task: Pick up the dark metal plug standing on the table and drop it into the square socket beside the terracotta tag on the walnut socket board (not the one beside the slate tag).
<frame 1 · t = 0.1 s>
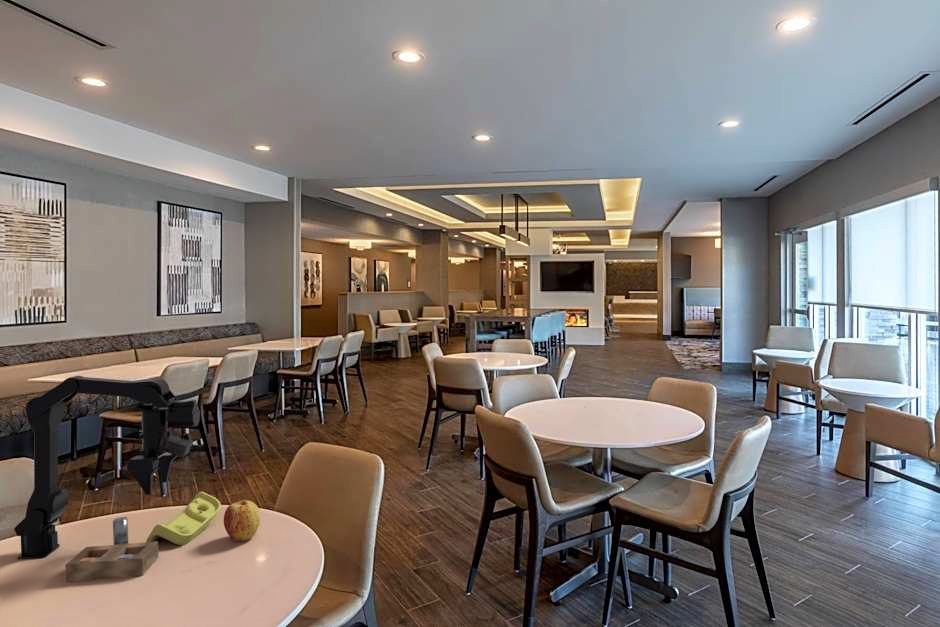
hand: (156, 488, 144), 14 cm above the table, fingers open, 9 cm apart
board: (114, 569, 131), on the table
apple: (243, 539, 147), on the table
plastic component: (188, 532, 152), on the table
plug: (121, 546, 143), on the table
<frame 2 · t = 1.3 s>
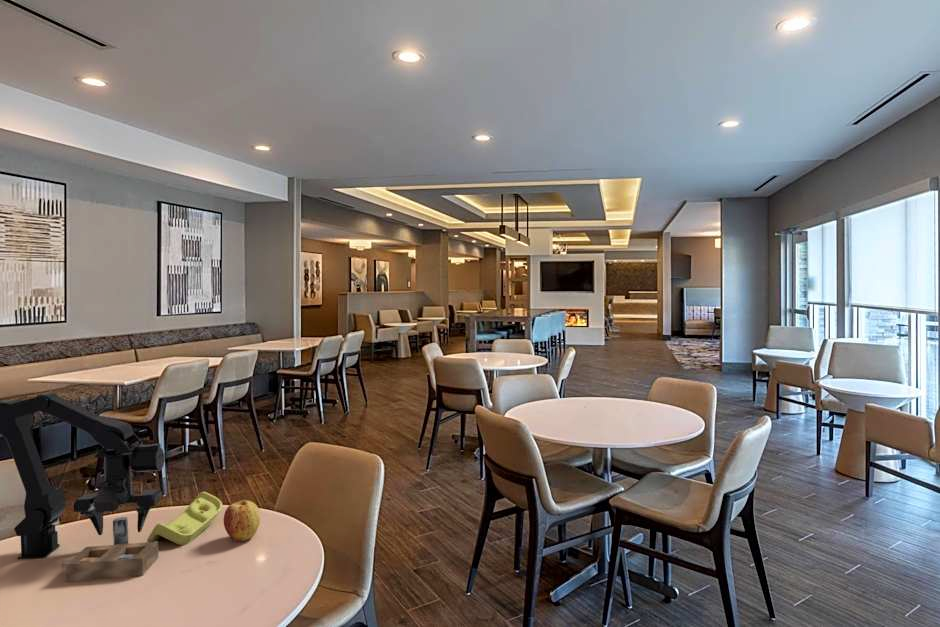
hand: (120, 533, 143), 3 cm above the table, fingers open, 9 cm apart
nothing on the table moved.
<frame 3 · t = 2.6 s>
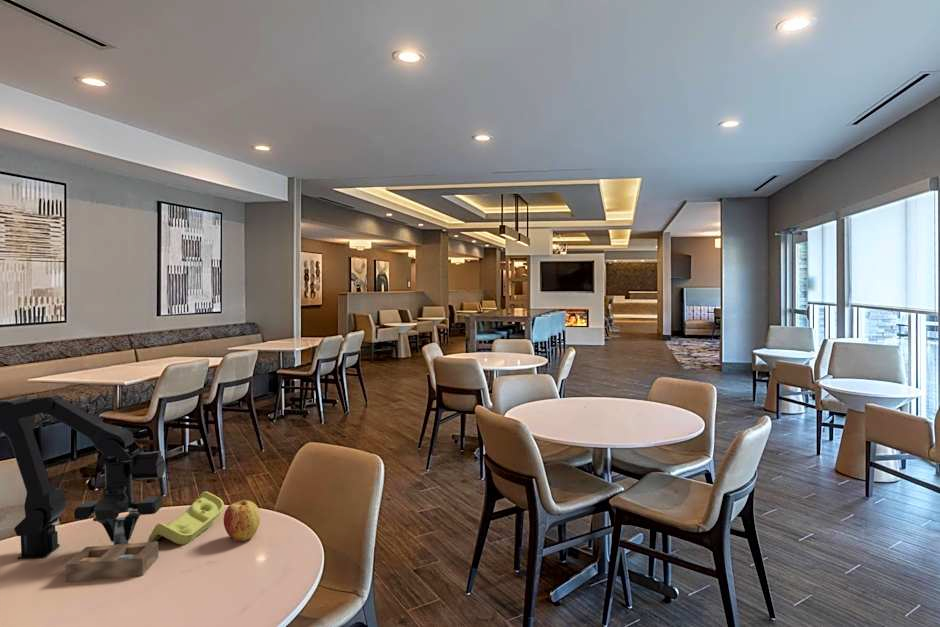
hand: (120, 540, 143), 2 cm above the table, fingers closed on plug, 3 cm apart
plug: (121, 546, 143), on the table, touching gripper
everything else where it was.
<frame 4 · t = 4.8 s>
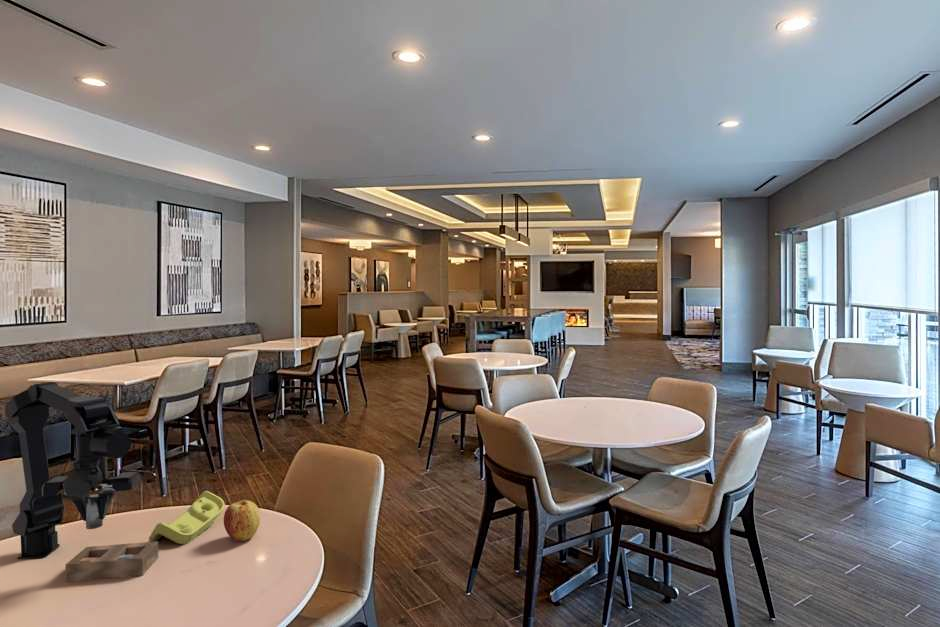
hand: (94, 519, 130), 12 cm above the table, fingers closed on plug, 3 cm apart
plug: (94, 526, 130), point 10 cm above the table, touching gripper
everything else where it was.
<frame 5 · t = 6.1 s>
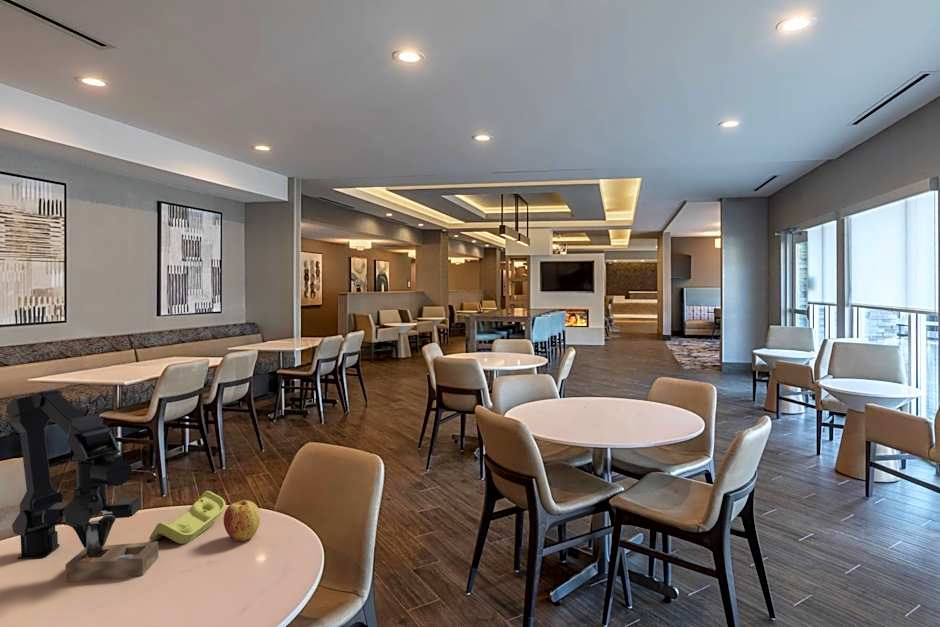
hand: (94, 546, 130), 6 cm above the table, fingers closed on plug, 3 cm apart
plug: (94, 552, 130), point 4 cm above the table, touching gripper
when the fingers open (5 cm above the table, at t = 7.1 s): plug drops 3 cm, resting in board.
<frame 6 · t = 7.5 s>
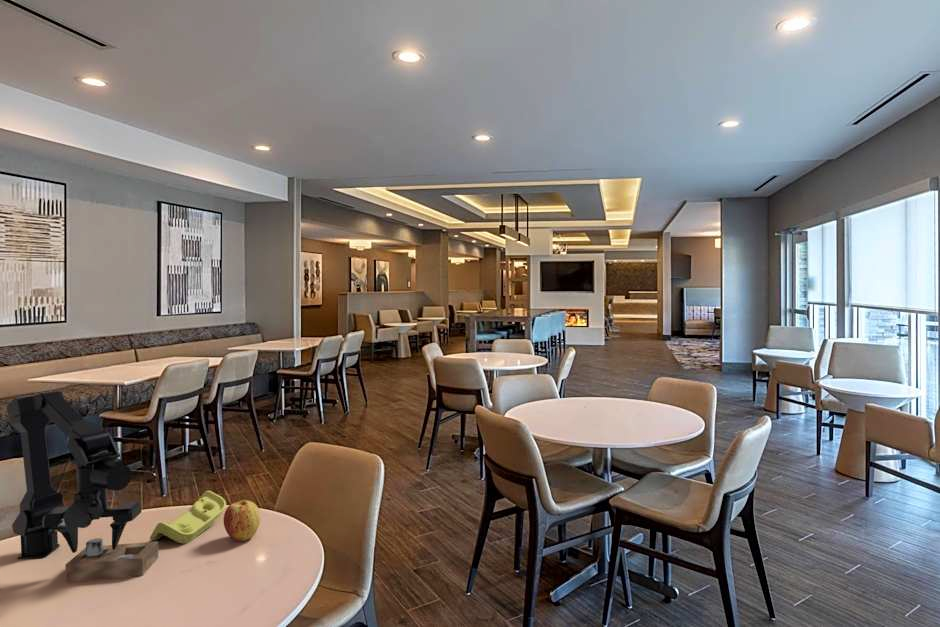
hand: (94, 550, 130), 5 cm above the table, fingers open, 8 cm apart
plug: (95, 570, 130), resting in board
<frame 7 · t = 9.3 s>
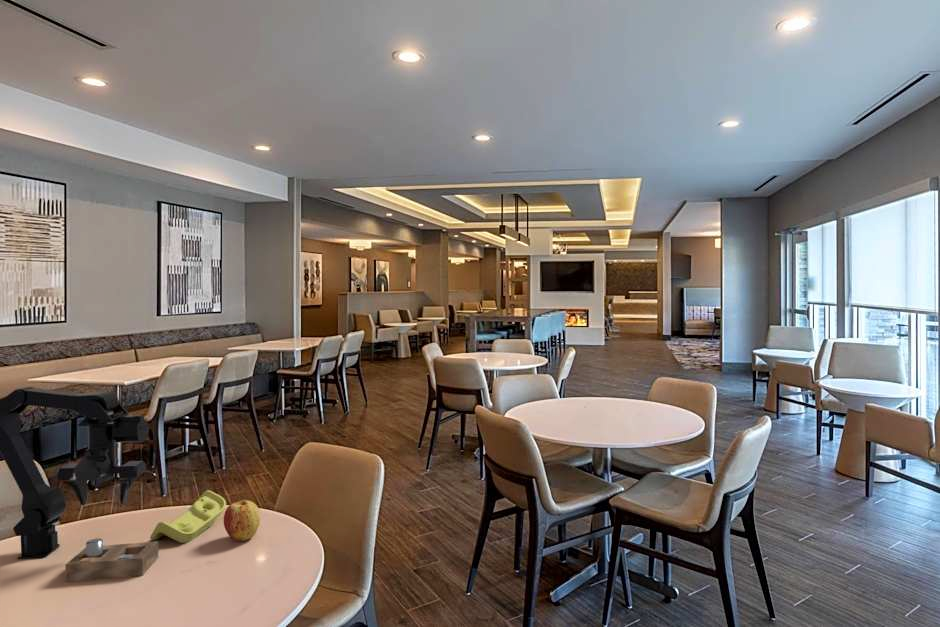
hand: (103, 504, 141), 12 cm above the table, fingers open, 9 cm apart
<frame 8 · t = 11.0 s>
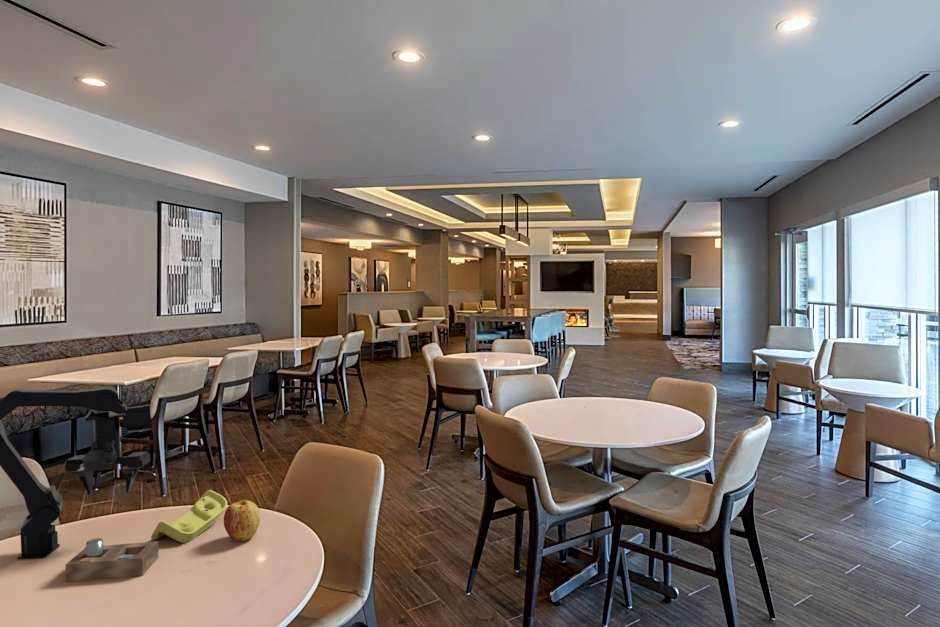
hand: (109, 493, 148), 12 cm above the table, fingers open, 9 cm apart
at the end: plug 0.0 cm from the target spot on the board, point 0.0 cm above the board's base; the gripper is holding nothing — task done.
